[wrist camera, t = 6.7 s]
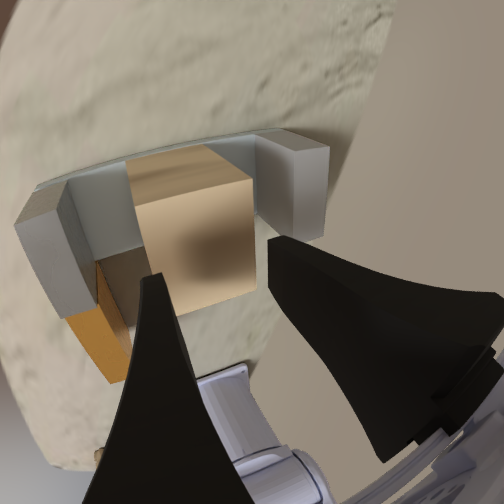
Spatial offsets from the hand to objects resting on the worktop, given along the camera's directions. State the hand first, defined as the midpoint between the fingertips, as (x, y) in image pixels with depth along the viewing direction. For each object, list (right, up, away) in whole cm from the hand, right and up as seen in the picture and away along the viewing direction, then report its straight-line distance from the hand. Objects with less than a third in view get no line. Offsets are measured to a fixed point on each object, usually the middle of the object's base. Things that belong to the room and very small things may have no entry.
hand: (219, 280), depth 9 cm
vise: (-4, +4, +6) cm, 8 cm away
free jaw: (-9, 0, +6) cm, 11 cm away
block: (-3, +4, +6) cm, 8 cm away
